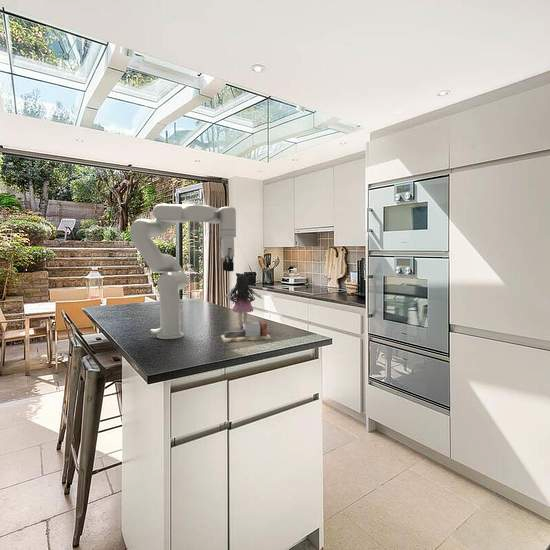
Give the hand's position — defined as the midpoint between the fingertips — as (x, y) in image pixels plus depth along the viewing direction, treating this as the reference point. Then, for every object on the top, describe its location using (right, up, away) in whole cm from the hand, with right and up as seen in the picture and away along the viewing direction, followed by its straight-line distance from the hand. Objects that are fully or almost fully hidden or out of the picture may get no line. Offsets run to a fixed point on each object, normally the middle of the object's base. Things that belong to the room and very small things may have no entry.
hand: (228, 270), depth 171 cm
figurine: (+4, -31, +29) cm, 43 cm away
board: (+8, -32, +4) cm, 33 cm away
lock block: (+10, -31, +5) cm, 33 cm away
